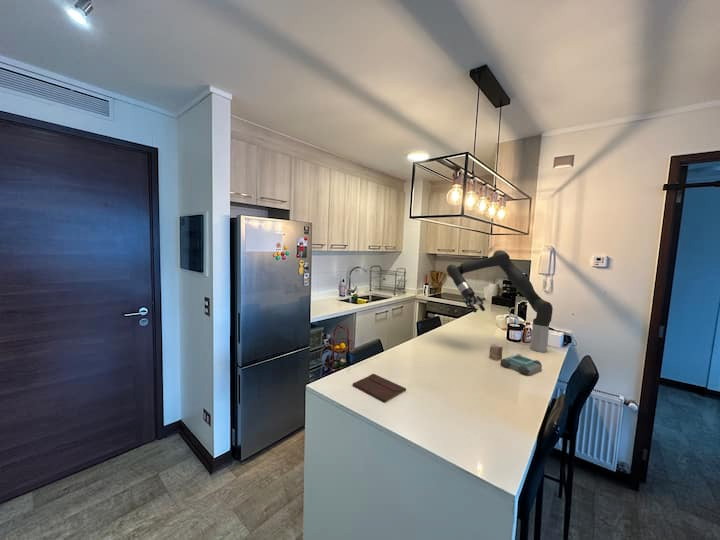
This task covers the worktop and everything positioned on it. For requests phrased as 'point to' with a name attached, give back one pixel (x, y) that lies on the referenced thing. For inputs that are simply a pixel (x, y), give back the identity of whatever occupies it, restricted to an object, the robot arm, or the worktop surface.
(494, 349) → the engine block
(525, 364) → the chassis
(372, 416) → the worktop surface
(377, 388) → the notebook
